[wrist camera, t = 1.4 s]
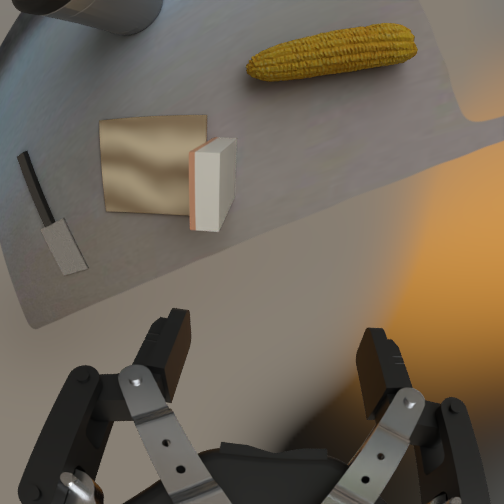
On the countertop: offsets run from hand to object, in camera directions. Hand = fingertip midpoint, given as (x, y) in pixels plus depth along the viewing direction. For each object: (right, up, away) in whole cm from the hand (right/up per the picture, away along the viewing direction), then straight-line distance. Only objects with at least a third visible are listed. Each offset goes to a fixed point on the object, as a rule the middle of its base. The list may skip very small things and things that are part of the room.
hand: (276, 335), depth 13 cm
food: (+9, +28, +19) cm, 35 cm away
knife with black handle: (-37, +10, +32) cm, 50 cm away
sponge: (-5, +15, +27) cm, 31 cm away
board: (-15, +16, +27) cm, 35 cm away
